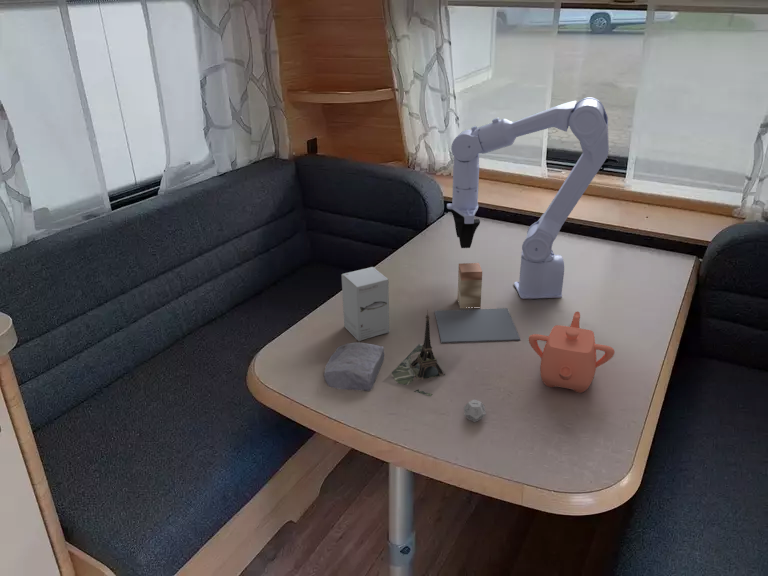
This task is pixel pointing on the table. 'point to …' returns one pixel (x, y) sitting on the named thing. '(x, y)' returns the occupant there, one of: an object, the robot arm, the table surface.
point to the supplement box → (365, 303)
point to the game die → (474, 410)
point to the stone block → (354, 366)
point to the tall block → (469, 285)
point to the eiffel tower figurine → (419, 363)
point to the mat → (476, 325)
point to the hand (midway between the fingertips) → (463, 242)
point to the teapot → (569, 356)
